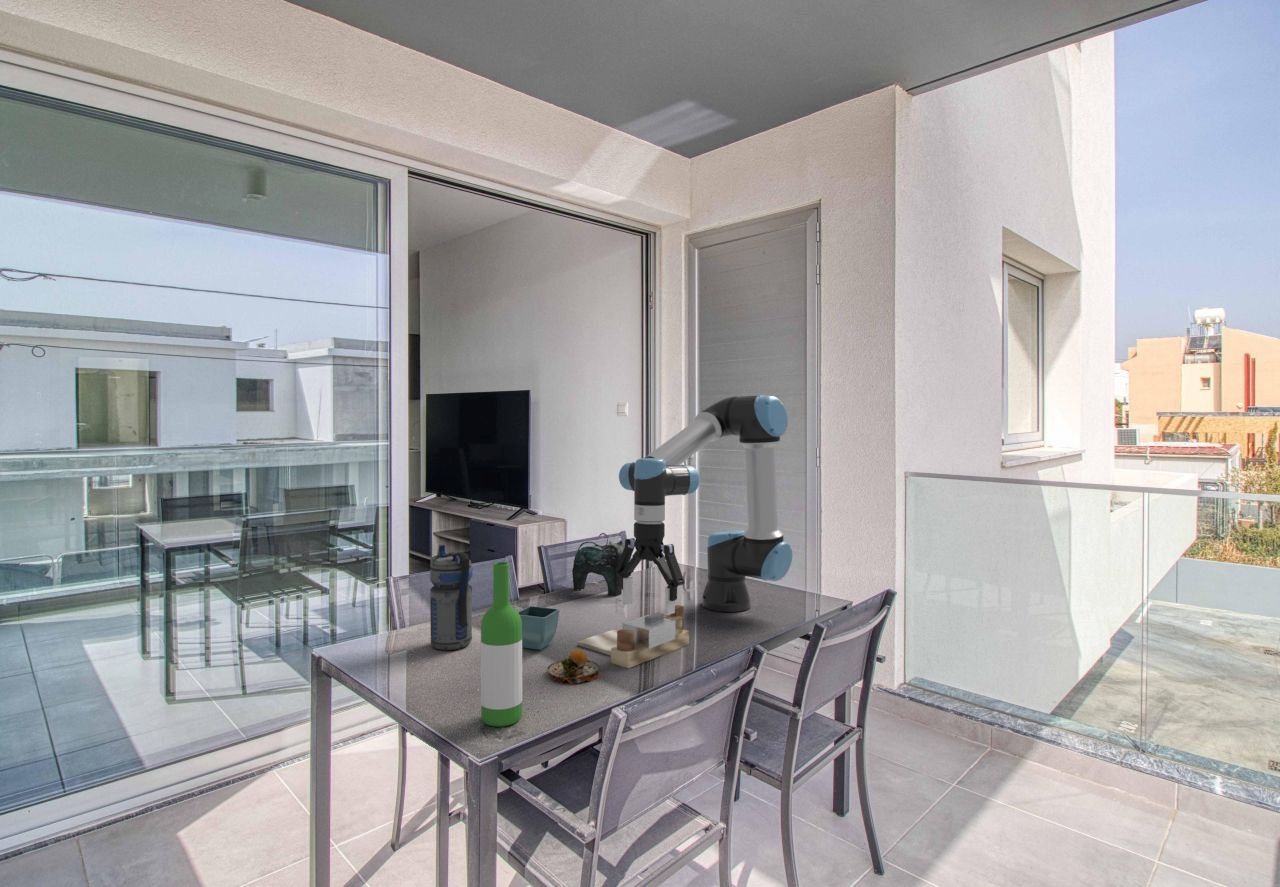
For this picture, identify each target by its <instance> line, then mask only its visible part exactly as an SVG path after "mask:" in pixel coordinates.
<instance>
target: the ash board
mask: <svg viewBox="0 0 1280 887" xmlns="http://www.w3.org/2000/svg"><path fill="white" fill-rule="evenodd" d="M618 630H619V629H618V628H614V629H611V630H608V631H605V632H602V633H599V634H596V635H593V636H590V637H587V638H584V639H581V640H578V641H577V646H579V647H582V648H583V647H584V648H586V649H589V650H592V651H595V652H597V653H601V654H605V655H607V656H610V657H611V648H613V647H616V646H617V631H618ZM584 644H585V645H584Z"/></svg>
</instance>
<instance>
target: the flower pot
mask: <svg viewBox="0 0 1280 887" xmlns="http://www.w3.org/2000/svg"><path fill="white" fill-rule="evenodd" d="M517 612H518V613H519V615H520V617H521V621H522V648H523V649H531V650H537V651H541V650H543V649H544V648H546V647H547V646H549V645H550V644H551V643H552V641H553V638H554V637H555V635H556V632H557V628H558V623H559V617H560V616H559V615H560V609H559V608H552V607H545V606H543V607H542V606H535V605H534V606H533V605H530V606H527V607H525V608H523V609H522V610H519V611H517Z"/></svg>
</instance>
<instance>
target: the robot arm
mask: <svg viewBox="0 0 1280 887" xmlns="http://www.w3.org/2000/svg"><path fill="white" fill-rule="evenodd" d="M788 417H789V416H788V412H787V409H786V406H785V405H784V403H783V402H782V401H781V399H779V398H778V397H776V396H774V395H764V394H760V395H745V396H743V395H741V396H738V395H737V396H729V397H725V398H723V399H721V400H719V401H717V402H714V403H713V404H711V405H709V406H708V407H706V408H705V409H702V411H700V412H699V413H698V414H696V416H695V418H694V421H692V422H691V423H690V424H688V425H687V426H685V427H684V428H683V429H682V430H680V431H679V432H677V433H676V434H674V435H673V436H672V437H671V438H669V439H668V440H667V441H666V442H664V443H663V444H661V445H660V446H659V447H657V448H656V449H654V450H653V451H652V452H650V453H649V454H647V455H646V456H645V457H644V458H641V457H640V458H638V459H636V461H635V462H634V461H633V462H625V464H624V465H622V466H621V468H620V469H619V473H618V480H619V483H620V485H621V487H622V488H623V489H625V490H628V491H633V492H634V493H633V494H634V498H633V499H634V500H633V508H634V509H633V510H634V511H633V513H634V514H633V520H634V521H635V522H634V524H633V537H632V538H627V539H625V541H624V550H623V552H622V555H621V557H620V560H619V562H618V565H617V567H616V570H615V573H616V574H619V575H620V576H621V578H622V583H621V585H622V586H621V588H622V604H623V605H629V604H633V592H634V591H633V589H634V587H633V583H634V582H633V580H634V579H633V576H632V574H633V572H634V570H636V568H637V567H638V565H639V564H640V562H641V561H642V560H643V561H644V560H646V561H648V562H652V563H653V564H655V565H656V567H657V569H658V571H659V572H660V574H661V576H662V577H663V579H664V580H665V582H666V585H667V586H665V591H664V592H665V596H664V598H665V599H664V600H665V601H664V602H665V603H664V614H665V615H670V614H673V613H675V606H676V601H677V599H678V587H680V586H684V584H685V580H684V576H683V573H682V571H681V568H680V565H679V563H678V559H677V556H676V554H675V553H676V552H675V545H674V544H673V543H669V544H664V538H665V536H666V535H665V532H666V531H665V526H666V525H665V523H664V522H665V521H666V497H668V496H686V495H690V494H692V493H694V492H696V491H697V489H698V488H699V485H700V475H699V472H698V470H697V468H695V467H694V466H693V465H688V464H687V465H686V464H683V463H684V462H686V461H687V460H688V459H689V458H691V457H692V456H693V455H694V454H695V453H697V452H699V451H700V450H701V449H702V448H704V447H705V446H706V445H708V444H709V443H710V442H717V441H719V439H721V438H723V437H728V436H739V437H738V438H739V444H740V445H741V446H742V447H743V449H744V455H745V456H744V457H745V477H746V479H745V481H746V500H747V501H746V502H747V503H746V504H747V508H746V509H747V530H746V531H744V530H727V531H726V530H725V531H718V532H712V533H711V534H710V535H709V536H708V537H707V539H708V540H707V546H706V547H707V581H706V585H705V587H704V590H703V593H702V596H701V606H702V607H703V608H705V609H706V610H711V611H715V612H722V613H723V612H724V613H725V612H726V613H735V612H743V611H747V610H749V609H751V607H752V599H751V595H750V593H749V588H748V586H747V583H746V577H748V578H752V579H759V580H762V581H765V582H766V581H771V582H777V581H781V580H782V579H783V578H785V576H786V575H787V573H788V572H789V570H790V568H791V566H792V561H793V549H792V547H791V545H790V543H789V542H786V541H784V532H783V531H781V530H780V529H779V528H778V527H779V526H778V524H779V523H778V521H779V520H778V500H777V498H778V497H777V473H776V472H777V471H776V469H777V468H776V446H778V445H779V443H780V442H781V437H782V436H783V435H784V434H785V433H786V431H787V428H788V424H789V423H788V422H789V418H788ZM634 550H635V552H634ZM631 557H632V558H631Z"/></svg>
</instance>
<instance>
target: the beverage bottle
mask: <svg viewBox="0 0 1280 887" xmlns="http://www.w3.org/2000/svg"><path fill="white" fill-rule="evenodd" d="M437 549H438V550H437V553H436V554H437V555H433V556H431V557H430V561H429V562H430V564H429V565H430V566H429V569H430V570H429V572H430V573H429V578H430V580H429V581H430V582H431V583H432V585H433V586H432V587H431V588H430V589H429V591H430V592H429V593H430V596H429V597H430V601H429V602H430V607H429V609H430V613H429V615H430V644H431V647H433V648H435V649H437V650H441V651H454V650H460V649H463V648H465V647H467V646H469V645H470V644H471V642H472V640H473V608H472V607H473V601H472V600H473V599H472V598H473V594H472V593H473V592H472V590H473V589H472V585H470V584H469V582H470V581H471V580H472V577H473V571H474V570H473V567H472V560H471V559H470V558H469V555H468V554H467V553H465V552H462V551H458V552H454V551H453V552H452V551H451V552H448V553H446V545H445V544H441V545H438V548H437Z"/></svg>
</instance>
